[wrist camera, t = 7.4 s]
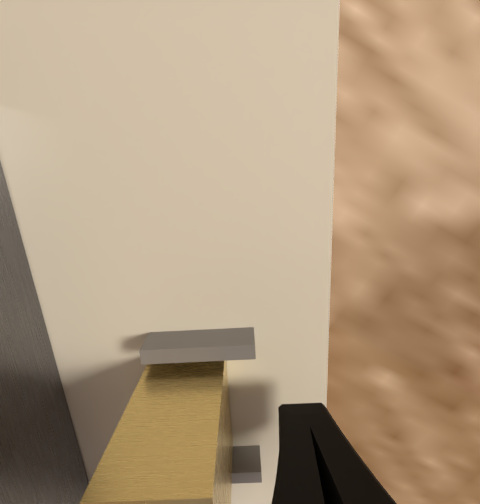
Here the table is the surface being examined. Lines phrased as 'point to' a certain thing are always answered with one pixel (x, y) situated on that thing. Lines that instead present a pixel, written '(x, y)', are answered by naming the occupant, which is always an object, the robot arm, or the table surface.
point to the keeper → (170, 440)
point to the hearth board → (177, 200)
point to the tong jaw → (31, 388)
